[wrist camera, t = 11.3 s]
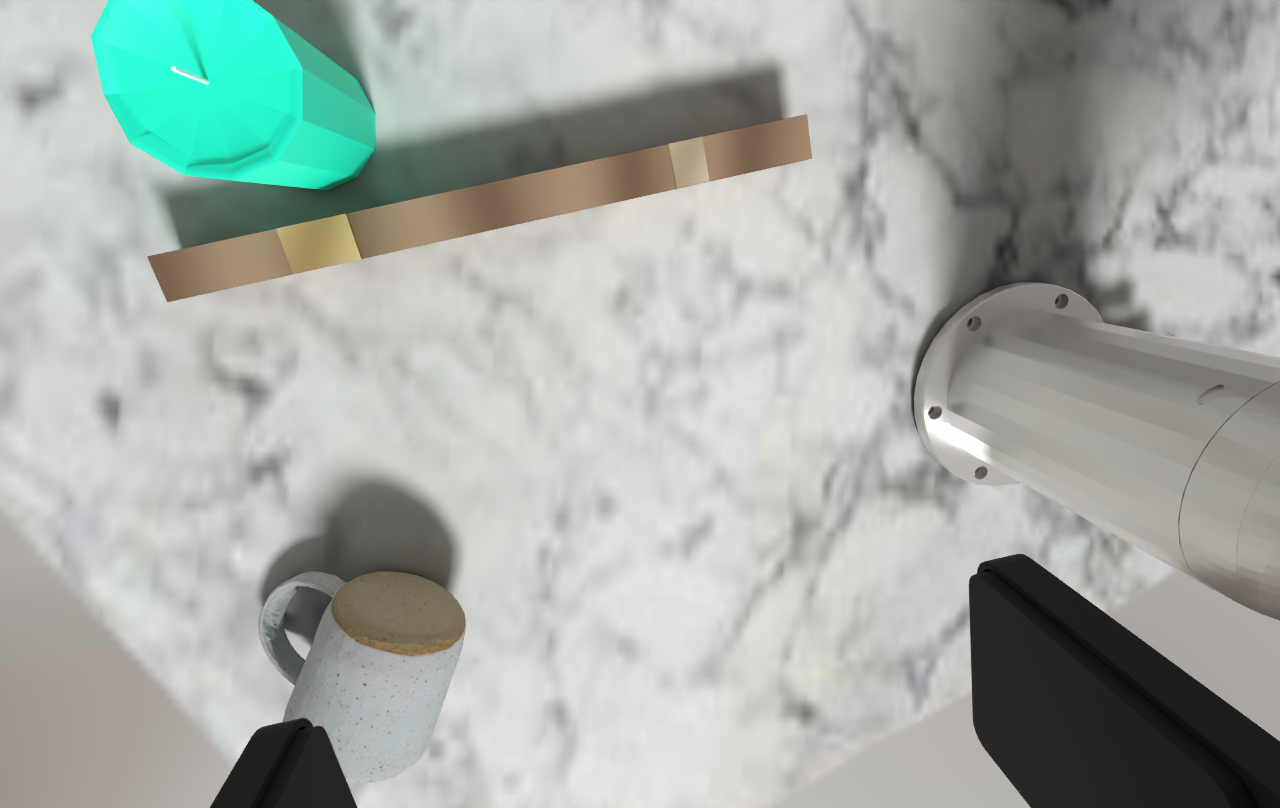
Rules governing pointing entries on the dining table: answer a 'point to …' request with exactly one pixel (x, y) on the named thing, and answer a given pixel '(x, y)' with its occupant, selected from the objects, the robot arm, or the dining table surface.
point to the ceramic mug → (370, 665)
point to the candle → (231, 93)
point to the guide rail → (478, 208)
